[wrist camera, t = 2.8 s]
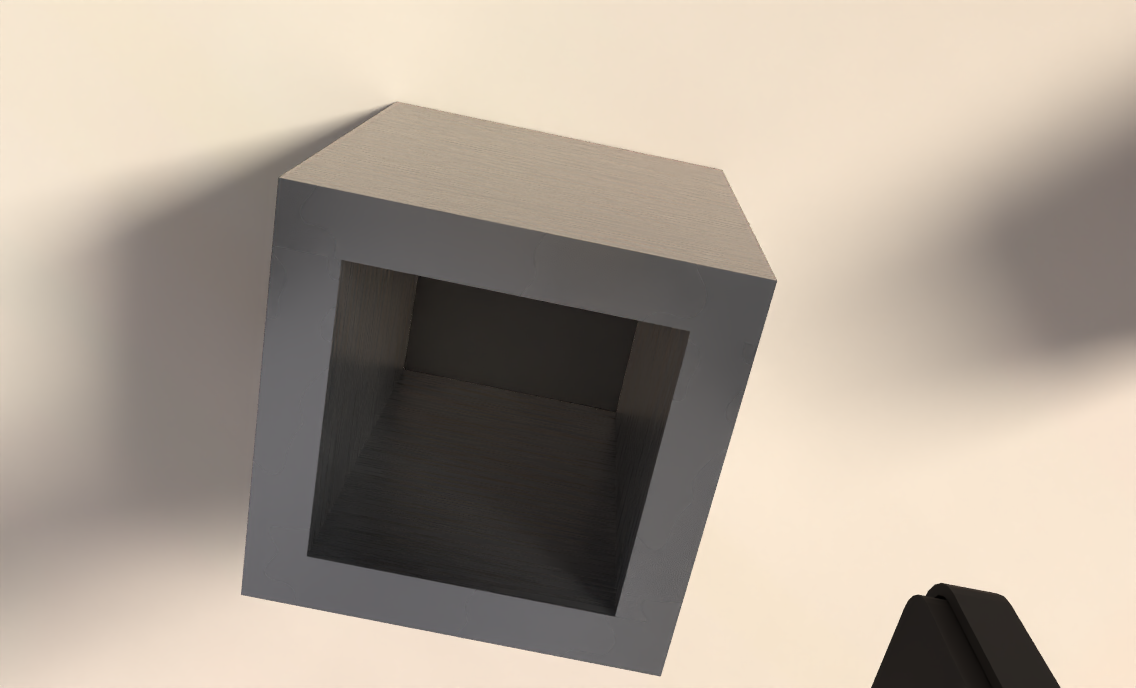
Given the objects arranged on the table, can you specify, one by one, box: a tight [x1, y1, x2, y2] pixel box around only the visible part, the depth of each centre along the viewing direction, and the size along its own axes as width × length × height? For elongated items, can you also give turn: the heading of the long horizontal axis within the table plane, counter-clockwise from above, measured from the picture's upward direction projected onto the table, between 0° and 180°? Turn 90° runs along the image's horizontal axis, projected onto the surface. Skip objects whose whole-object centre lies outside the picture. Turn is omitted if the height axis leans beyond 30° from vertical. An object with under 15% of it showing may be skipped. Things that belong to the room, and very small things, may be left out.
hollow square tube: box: [241, 102, 777, 676], centre depth 17 cm, size 6×6×7 cm
